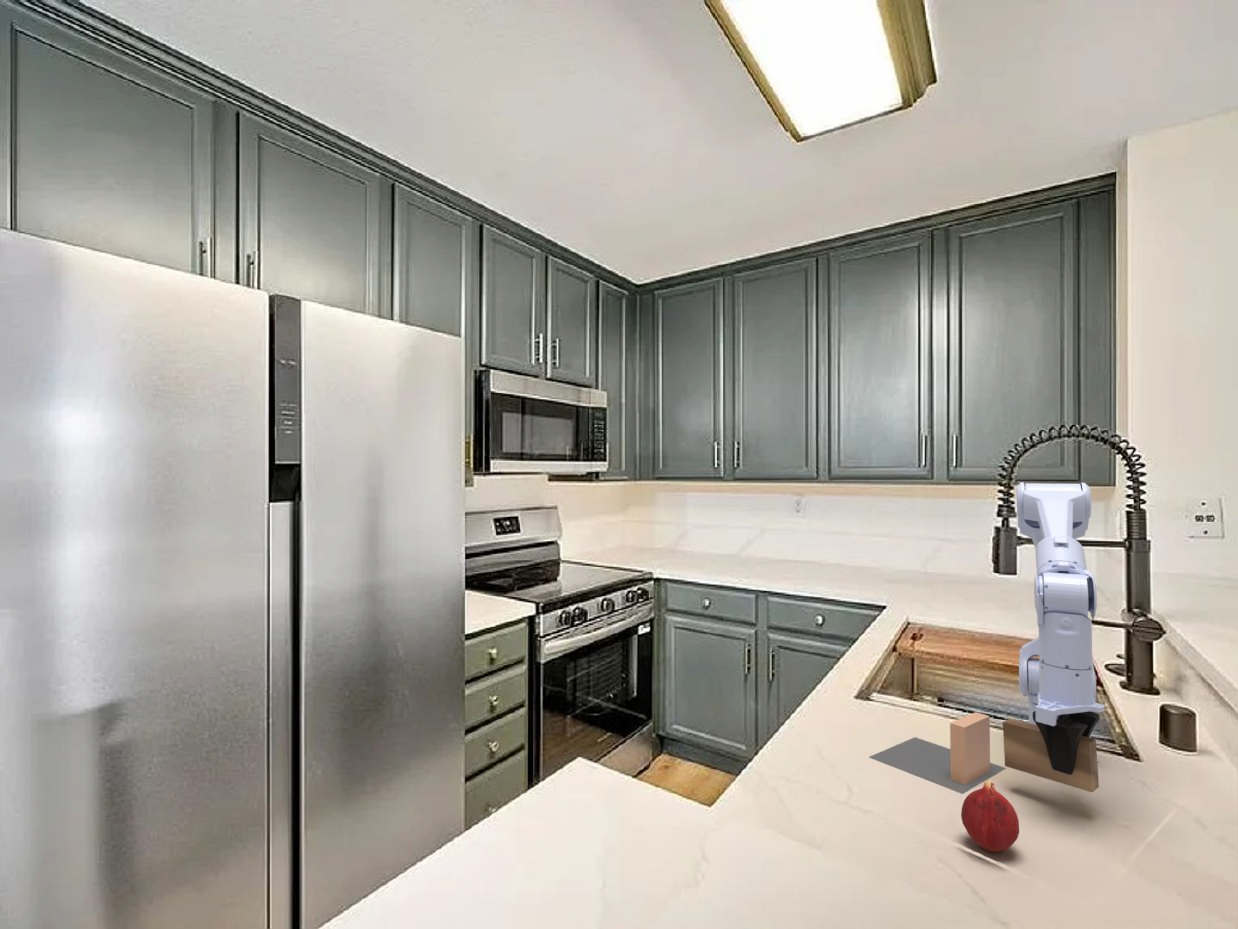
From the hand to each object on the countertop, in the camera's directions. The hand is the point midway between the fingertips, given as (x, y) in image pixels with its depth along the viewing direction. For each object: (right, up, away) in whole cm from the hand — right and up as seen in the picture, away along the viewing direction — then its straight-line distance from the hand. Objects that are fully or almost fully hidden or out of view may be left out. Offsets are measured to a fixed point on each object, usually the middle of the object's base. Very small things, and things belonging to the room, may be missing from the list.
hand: (1066, 768), depth 80 cm
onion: (-16, -5, -9) cm, 19 cm away
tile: (-7, -6, +9) cm, 13 cm away
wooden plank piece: (-1, -2, +1) cm, 3 cm away
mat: (-10, -6, +13) cm, 18 cm away
